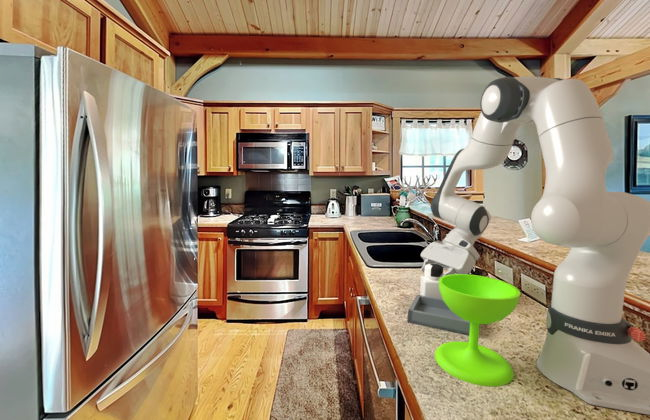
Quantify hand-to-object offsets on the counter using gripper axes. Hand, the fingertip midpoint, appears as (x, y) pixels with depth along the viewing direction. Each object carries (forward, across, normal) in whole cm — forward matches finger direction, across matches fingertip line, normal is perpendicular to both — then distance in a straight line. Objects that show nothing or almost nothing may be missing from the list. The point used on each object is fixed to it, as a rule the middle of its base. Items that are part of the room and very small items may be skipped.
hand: (432, 275), depth 105 cm
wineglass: (+18, +33, -6) cm, 38 cm away
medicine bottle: (+6, 0, +7) cm, 9 cm away
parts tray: (+11, +14, +1) cm, 18 cm away
